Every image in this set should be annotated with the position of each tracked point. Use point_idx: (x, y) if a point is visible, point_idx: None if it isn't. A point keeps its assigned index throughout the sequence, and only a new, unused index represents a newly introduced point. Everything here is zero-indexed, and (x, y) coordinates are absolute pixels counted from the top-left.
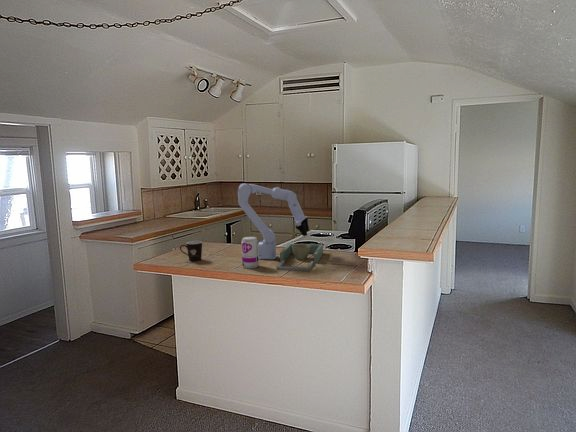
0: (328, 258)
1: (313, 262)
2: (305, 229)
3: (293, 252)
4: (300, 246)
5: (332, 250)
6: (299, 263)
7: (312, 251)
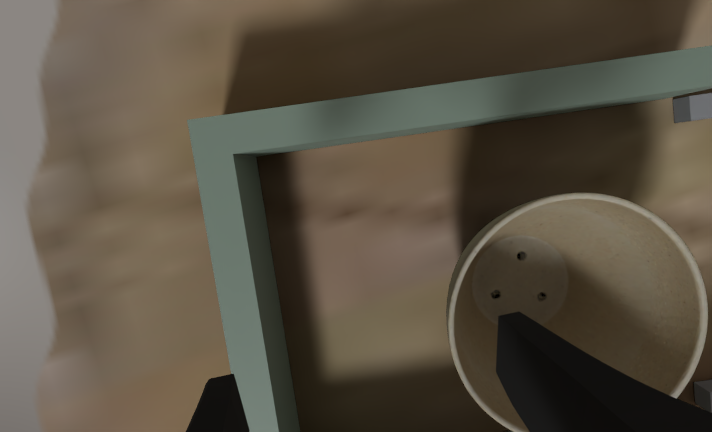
0: (435, 4)
1: (694, 95)
2: (629, 381)
3: None
4: (459, 357)
5: (58, 58)
6: (697, 238)
7: (264, 240)
